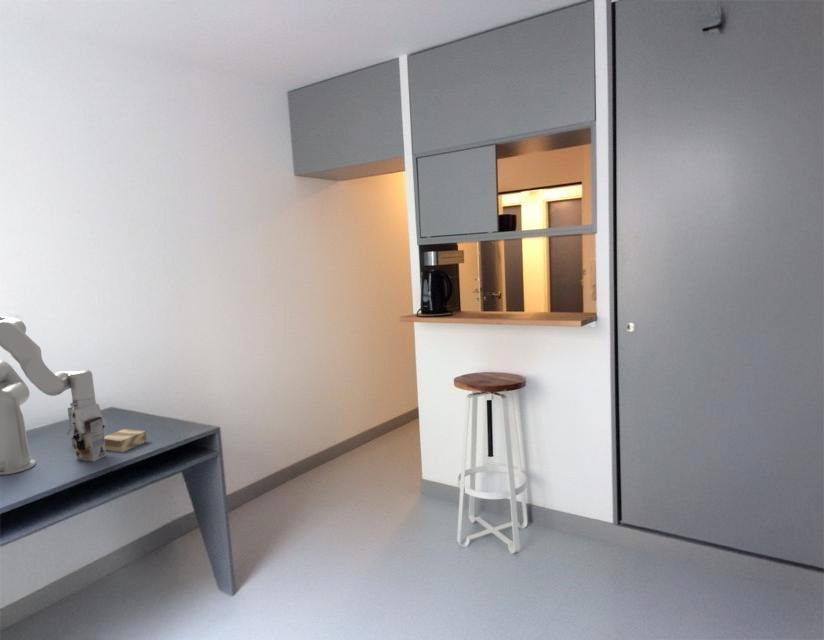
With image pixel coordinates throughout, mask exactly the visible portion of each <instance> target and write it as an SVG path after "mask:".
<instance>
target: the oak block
mask: <svg viewBox="0 0 824 640" xmlns="http://www.w3.org/2000/svg"><path fill="white" fill-rule="evenodd" d="M104 439H105V448H106V451H110V450H111V452H116V453H118V452H119V453H123V451H124V452H126V451H128V449H129V450H131V449H133V448H135V447H134V446H136V447H137V445H138V446H139V444H140V445H142V443H143V444H145V443H147V441H148V440H147V431H146V430H139V429H130V428H129V429H128V428H124V429H120V430H118V431H116V432H112V433H109V434H108V435H104ZM144 442H145V443H144ZM132 447H133V448H132ZM130 448H131V449H130ZM125 450H126V451H125Z"/></svg>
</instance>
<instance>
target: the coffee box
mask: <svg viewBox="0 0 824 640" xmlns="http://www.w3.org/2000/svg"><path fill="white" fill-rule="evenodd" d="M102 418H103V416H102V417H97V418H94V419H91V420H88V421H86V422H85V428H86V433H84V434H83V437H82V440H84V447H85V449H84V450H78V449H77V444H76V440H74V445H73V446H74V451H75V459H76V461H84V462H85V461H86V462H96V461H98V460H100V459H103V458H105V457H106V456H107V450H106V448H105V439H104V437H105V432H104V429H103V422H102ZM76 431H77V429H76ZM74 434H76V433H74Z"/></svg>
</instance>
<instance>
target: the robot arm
mask: <svg viewBox="0 0 824 640" xmlns="http://www.w3.org/2000/svg"><path fill="white" fill-rule="evenodd" d="M26 332H27V327H26V324H25V323H24V322H23V321H22V320H21V319H19V318H16V317H10V316H9V317H8V316H0V347H1V348H2V349H4V351H5V352H7V354H9V355H10V356H11V357H12V358H13V359H14V361H16V362H17V363H18V364H19V366H20V368H21V370H22V371H23V373H24V375H25V377H26V378H27V380H29V382H30V383H31V384H33V386H34V387H36V388H37V389H38V390H39V391H40V392H42V393H43V394H45V395H47V396H50V397H55V396H59V395H61V394H63V393H64V392H66V391H67V390H69V389H70V393H71V401H72V402H71V403H70V407H73V408H72V416H71V420H72V427H71V429H70V428H69V430H68V432H67V433H66V435H67V436H68V437H70V439H71V438H73V439H74V440H76V444H77V449H78V450H84V449H85V447H84V440H82V437H83V434H84V433H86V428H85V422H86V421H88V420H91V419H94V418H97V417H102V422H103V430H104V429H105V426H106V424H107V422H108V420H107V419H105V418H103V414H102V410H101V407H100V404H99V403H98V402H96V401H97V400H96V393H95V386H94V378H93V373H92V371H91V370H89V369H81V370H75V371H70V370H69V371H68V370H67V371H65V370H60V371H56V372H53V371H52V370H51V369H50V368H48V366H47V365H46V363H45V362H44V359H43V358H42V350H41V347H40V346H39V345H38V344H37V342H35V341H34V340H33V339H31V337H30V336H29V335H27V334H26ZM30 394H31V393H30V388H29V387H28V385H27V383H25V381H24V380H23V379H22V378H21V376H19V374H18V373H17V371H16V370H15V369H14V367H12V365H11V364H10V363H8V362H7V361H5V360H3V359H0V476H1V475H2V476H5V475H6V476H7V475H13V474H16V473H21V472H24V471H27V470H29V469H31V468H33V467H34V466H35V465H36V464H37V463H36V460H35V459H33V458H30V450H29V443H28V436H27V430H26V423H25V418H24V415H23V412H22V410H21V406H22V405H23V404H25V403H26V402H27V401H28V400H29V397H30ZM76 429H77V431H76ZM74 433H76V434H74Z"/></svg>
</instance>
